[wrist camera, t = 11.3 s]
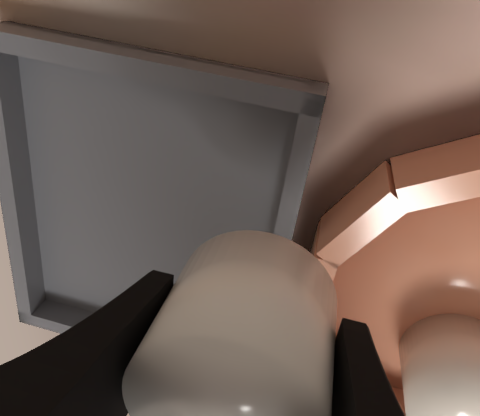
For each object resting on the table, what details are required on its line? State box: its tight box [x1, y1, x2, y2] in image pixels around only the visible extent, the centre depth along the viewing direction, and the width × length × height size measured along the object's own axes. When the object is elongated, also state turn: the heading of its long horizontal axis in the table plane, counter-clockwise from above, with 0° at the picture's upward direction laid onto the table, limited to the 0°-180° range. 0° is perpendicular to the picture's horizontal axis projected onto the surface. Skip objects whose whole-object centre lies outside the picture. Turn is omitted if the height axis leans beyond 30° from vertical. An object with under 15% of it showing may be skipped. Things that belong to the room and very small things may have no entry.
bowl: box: [310, 134, 480, 416], centre depth 19 cm, size 15×15×3 cm
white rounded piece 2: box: [399, 313, 480, 416], centre depth 19 cm, size 5×5×4 cm
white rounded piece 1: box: [122, 230, 337, 416], centre depth 11 cm, size 5×5×4 cm
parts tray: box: [0, 21, 329, 334], centre depth 21 cm, size 16×14×2 cm
